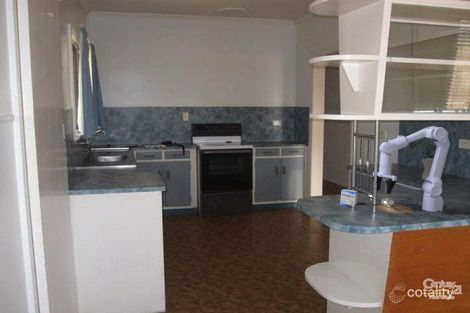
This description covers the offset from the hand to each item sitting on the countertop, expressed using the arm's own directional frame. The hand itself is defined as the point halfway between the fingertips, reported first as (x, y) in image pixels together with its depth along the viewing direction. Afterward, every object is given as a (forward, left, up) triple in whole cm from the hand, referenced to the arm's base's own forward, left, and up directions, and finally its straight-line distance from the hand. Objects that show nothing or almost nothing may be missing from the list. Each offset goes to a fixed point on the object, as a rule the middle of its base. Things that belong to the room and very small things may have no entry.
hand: (383, 192), depth 207 cm
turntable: (-5, +3, -10) cm, 12 cm away
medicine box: (+12, -12, -10) cm, 19 cm away
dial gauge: (+2, -6, -10) cm, 11 cm away
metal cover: (-5, -2, -8) cm, 10 cm away
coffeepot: (-103, -60, -10) cm, 120 cm away
